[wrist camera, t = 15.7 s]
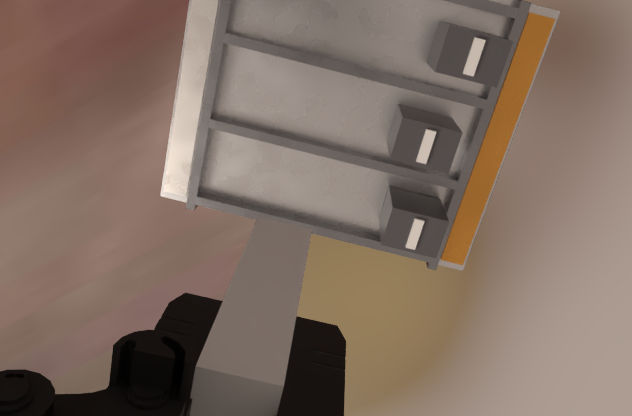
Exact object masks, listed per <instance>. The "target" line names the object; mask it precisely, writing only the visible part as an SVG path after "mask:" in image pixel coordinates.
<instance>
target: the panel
mask: <svg viewBox="0 0 632 416" xmlns="http://www.w3.org/2000/svg"><path fill="white" fill-rule="evenodd" d="M560 12H561V11H558V10H554V9H550V8H546V7H542V6H539V5H535V4H532V3H530V2H526V1H522V0H190V1H189V8H188V14H187V21H186V28H185V35H184V41H183V48H182V55H181V61H180V68H179V75H178V81H177V88H176V95H175V102H174V108H173V115H172V122H171V128H170V135H169V142H168V148H167V155H166V162H165V169H164V175H163V182H162V189H161V195H160V196H162V197H166V198H170V199H174V200H178V201H182V202H186V203H187V204H186V209H190V210H195V209H196V207H197V206H198V205H199V206H203V207H207V208H211V209H215V210H219V211H223V212H227V213H231V214H235V215H239V216H243V217H247V218H251V219H255V220H257V218H258V217H262V218H266V219H271V220H275V221H279V222H284V223H288V224H292V225H297V226H301V227H305V228H309V229H312V232H311V233H312V234H316V235H320V236H324V237H328V238H332V239H336V240H340V241H344V242H348V243H352V244H356V245H360V246H364V247H368V248H372V249H376V250H380V251H385V252H389V253H393V254H397V255H401V256H405V257H409V258H413V259H417V260H421V261H425V262H426V264H427V268H429V269H433V270H436V269H437V266H438V265H441V266H445V267H449V268H454V269H457V270H461V271H463V269H464V266H465V263H466V260H467V258H468V255H469V253H470V250H471V247H472V245H473V242H474V240H475V237H476V234H477V231H478V229H479V226H480V224H481V221H482V218H483V215H484V213H485V210H486V208H487V205H488V202H489V200H490V197H491V195H492V192H493V189H494V187H495V184H496V181H497V179H498V176H499V173H500V171H501V168H502V165H503V163H504V160H505V157H506V155H507V152H508V150H509V147H510V144H511V142H512V139H513V136H514V134H515V131H516V128H517V126H518V123H519V120H520V118H521V115H522V112H523V110H524V107H525V105H526V102H527V99H528V97H529V94H530V91H531V89H532V86H533V83H534V81H535V78H536V75H537V73H538V70H539V68H540V65H541V62H542V60H543V57H544V54H545V52H546V49H547V46H548V44H549V41H550V38H551V36H552V33H553V30H554V27H555V25H556V23H557V20H558V17H559V15H560ZM439 21H444V22H448V23H451V24H455V25H459V26H463V27H467V28H471V29H475V30H479V31H482V32H486V33H490V34H494V35H498V36H500V37H503V38H506V39H509V40H512V41H513V44H512V47H511V50H510V52H509V55H508V58H507V61H506V64H505V66H504V69H503V72H502V75H501V78H500V81H499V83H498V86H497V88H495V87H492V86H488V85H484V84H480V83H476V82H472V81H468V80H464V79H460V78H456V77H453V76H449V75H445V74H441V73H437V72H434V70H433V69H432V68H431V67H430V66H429V65H428V64H427V61H428V57H429V54H430V51H431V48H432V44H433V41H434V38H435V35H436V31H437V28H438V25H439ZM398 104H400V105H404V106H408V107H412V108H416V109H419V110H423V111H427V112H431V113H435V114H439V115H443V116H447V117H451V118H453V120H454V121H455V123H456V124H457V125H458V127H459V128H460V129H461V131H462V132H463V133H462V136H461V139H460V142H459V145H458V148H457V151H456V154H455V157H454V160H453V162H452V165H451V168H450V171H449V174H446V173H442V172H438V171H434V170H430V169H426V168H422V167H418V166H414V165H410V164H407V163H403V162H399V161H395V160H391V159H390V157H389V152H388V146H387V140H388V136H389V133H390V129H391V126H392V123H393V119H394V116H395V112H396V109H397V106H398ZM389 186H390V187H394V188H398V189H402V190H406V191H410V192H414V193H418V194H422V195H426V196H430V197H434V198H438V199H441V202H442V204H443V207H444V209H445V212H446V214H447V217H448V220H449V224H448V227H447V230H446V232H445V235H444V238H443V241H442V244H441V247H440V249H439V252H438V255H437V258H432V257H428V256H424V255H420V254H416V253H412V252H408V251H404V250H400V249H396V248H392V247H388V246H384V245H381V240H380V230H379V218H380V215H381V211H382V208H383V205H384V202H385V198H386V195H387V192H388V188H389Z"/></svg>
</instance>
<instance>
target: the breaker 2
mask: <svg viewBox="0 0 632 416" xmlns="http://www.w3.org/2000/svg"><path fill="white" fill-rule="evenodd" d="M512 44H513V41H512V40H509V39H506V38H503V37H500V36H498V35H494V34H490V33H486V32H482V31H479V30H475V29H471V28H467V27H463V26H459V25H455V24H451V23H448V22H444V21H439V25H438V28H437V31H436V35H435V38H434V41H433V44H432V48H431V51H430V54H429V57H428V61H427V64H428V65H429V66H430V67H431V68H432V69H433V70H434V72H437V73H441V74H445V75H449V76H453V77H456V78H460V79H464V80H468V81H472V82H476V83H480V84H484V85H488V86H492V87H495V88H497V86H498V83H499V81H500V78H501V75H502V72H503V69H504V66H505V64H506V61H507V58H508V55H509V52H510V50H511V47H512Z"/></svg>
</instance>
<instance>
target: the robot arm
mask: <svg viewBox="0 0 632 416" xmlns="http://www.w3.org/2000/svg"><path fill="white" fill-rule="evenodd" d="M311 232H312V229H309V228H305V227H301V226H297V225H292V224H288V223H284V222H279V221H275V220H271V219H266V218H262V217H258V218H257V221H256V223H255V226H254V228H253V230H252V233H251V235H250V238H249V240H248V242H247V245H246V247H245V249H244V252H243V254H242V257H241V259H240V261H239V264H238V266H237V269H236V271H235V273H234V276H233V278H232V281H231V283H230V285H229V288H228V290H227V293H226V295H225V297H224V300H223V301H219V300H215V299H211V298H206V297H202V296H197V295H193V294H189V293H184V294H183V295H181V296H179V297H178V298H176V299H174V300H173V301H171V302H170V303H169V304H168V306H167V308H166V309H165V311H164V313H163V315H162V317H161V319H160V320H159V321H158V323H157V325H156V327H155V330H145V331H137V332H133V333H131V334H128V335H126V336H124V337H122V338H121V339H120V340H119V341H117V342H116V343H115V344H114V345H113V354H112V363H111V372H110V382H109V386H108V388H107V389H105V390H101V391H97V392H93V393H84V394H55V389H54V387H53V385H52V383H51V381H50V380H48V379H47V378H46V377H44V376H43V375H41V374H40V373H36V372H32V371H28V370H5V371H1V372H0V416H344V390H345V356H346V340H345V338H344V337H343V335H342V333H341V331H340V330H339V328H338V326H336V325H331V324H327V323H323V322H318V321H314V320H309V319H305V318H301V317H297V310H298V305H299V299H300V293H301V288H302V282H303V277H304V271H305V265H306V260H307V254H308V249H309V243H310V238H311Z"/></svg>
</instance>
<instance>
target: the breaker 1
mask: <svg viewBox="0 0 632 416" xmlns="http://www.w3.org/2000/svg"><path fill="white" fill-rule="evenodd" d="M448 224H449V220H448V217H447V214H446V212H445V209H444V207H443V204H442V202H441V199H438V198H434V197H430V196H426V195H422V194H418V193H414V192H410V191H406V190H402V189H398V188H394V187H390V186H389V188H388V192H387V195H386V198H385V202H384V205H383V208H382V211H381V215H380V218H379V230H380V240H381V245H384V246H388V247H392V248H396V249H400V250H404V251H408V252H412V253H416V254H420V255H424V256H428V257H432V258H437V255H438V252H439V249H440V247H441V244H442V241H443V238H444V235H445V232H446V230H447V227H448Z"/></svg>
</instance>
